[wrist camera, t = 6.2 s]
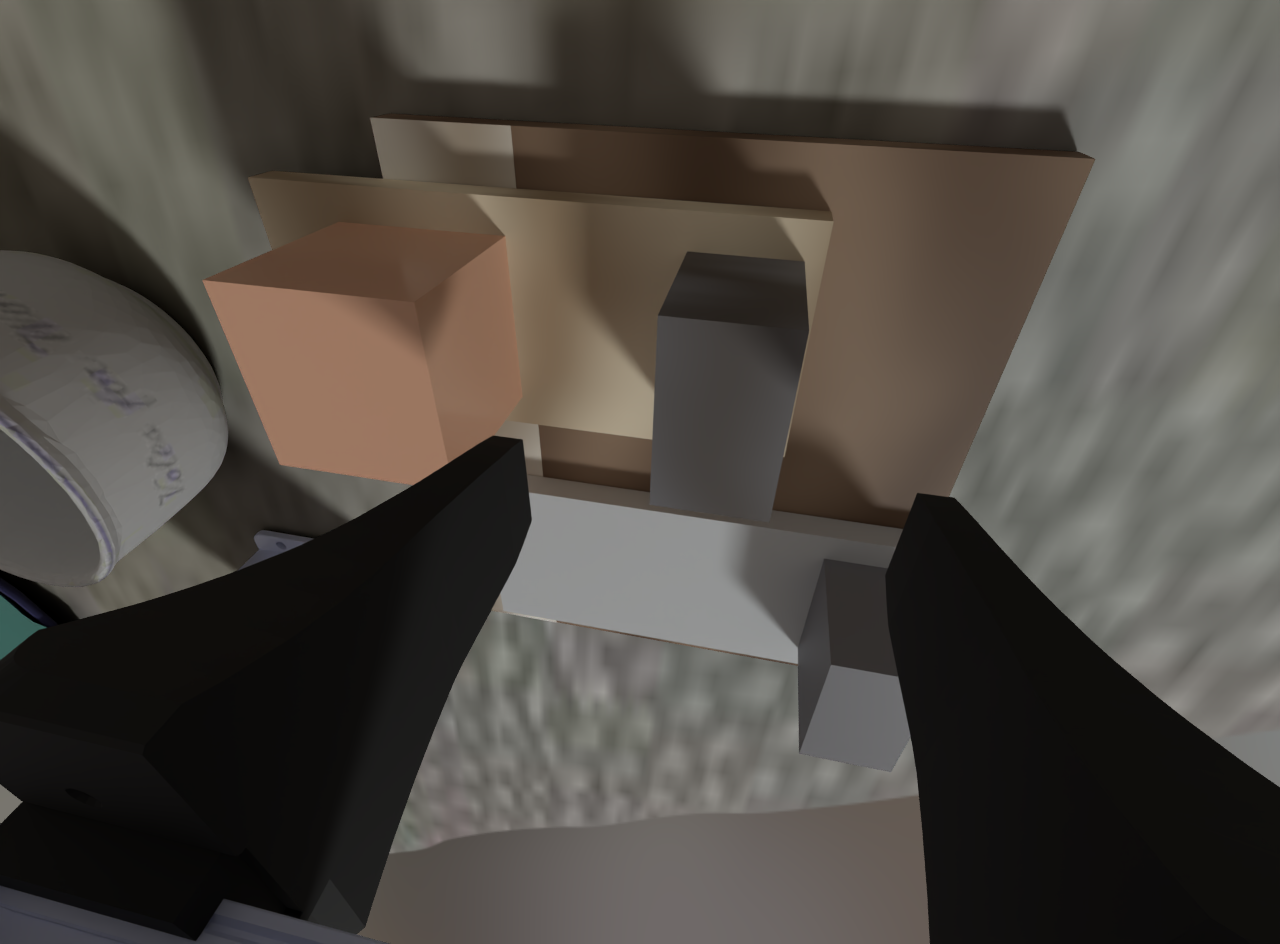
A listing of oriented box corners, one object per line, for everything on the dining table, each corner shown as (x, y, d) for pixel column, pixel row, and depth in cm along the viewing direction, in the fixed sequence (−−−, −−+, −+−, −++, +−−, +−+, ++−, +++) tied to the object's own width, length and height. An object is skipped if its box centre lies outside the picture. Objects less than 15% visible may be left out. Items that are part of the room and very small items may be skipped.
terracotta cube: (380, 378, 20) (280, 464, 16) (338, 221, 17) (202, 280, 13) (522, 396, 19) (453, 491, 15) (505, 235, 16) (414, 302, 12)
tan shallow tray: (338, 382, 22) (228, 468, 17) (272, 170, 17) (106, 215, 13) (784, 439, 19) (783, 554, 15) (831, 211, 15) (847, 281, 11)
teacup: (322, 433, 25) (164, 570, 19) (172, 490, 29) (3, 617, 23) (20, 68, 18) (-383, 88, 12) (-116, 211, 23) (-466, 281, 16)
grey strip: (511, 593, 27) (459, 699, 23) (492, 469, 23) (424, 570, 18) (879, 658, 25) (898, 789, 20) (933, 533, 20) (971, 666, 16)
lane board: (483, 591, 29) (475, 607, 28) (389, 113, 17) (369, 117, 16) (867, 659, 26) (869, 679, 26) (1078, 151, 14) (1095, 159, 14)
